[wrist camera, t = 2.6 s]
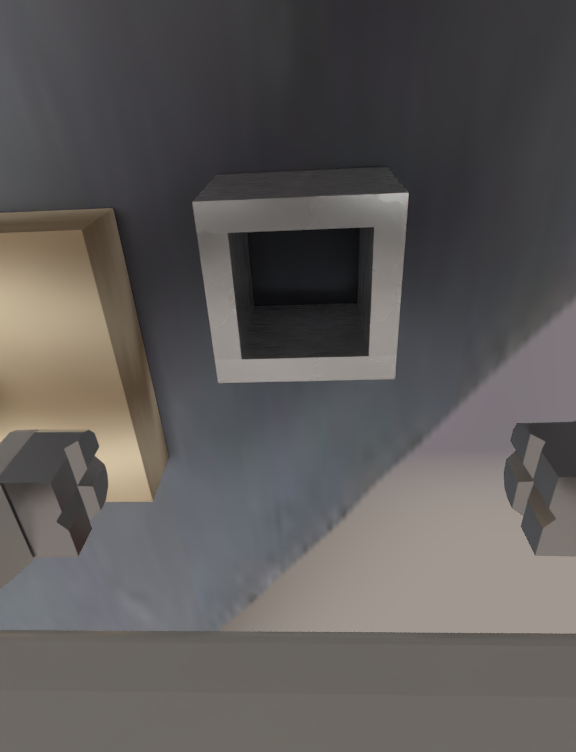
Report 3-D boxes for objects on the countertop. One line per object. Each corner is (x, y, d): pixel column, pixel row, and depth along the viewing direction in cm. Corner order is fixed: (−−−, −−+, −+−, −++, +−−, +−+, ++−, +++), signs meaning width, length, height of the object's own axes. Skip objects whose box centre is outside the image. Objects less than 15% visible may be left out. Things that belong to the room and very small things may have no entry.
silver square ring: (216, 174, 18) (192, 201, 14) (386, 166, 17) (408, 192, 14) (234, 327, 21) (218, 383, 17) (378, 322, 20) (394, 378, 17)
